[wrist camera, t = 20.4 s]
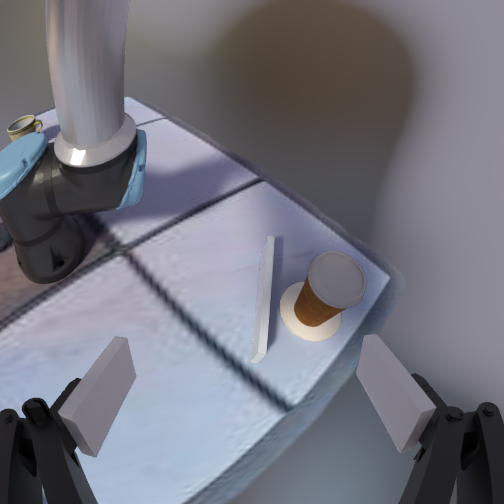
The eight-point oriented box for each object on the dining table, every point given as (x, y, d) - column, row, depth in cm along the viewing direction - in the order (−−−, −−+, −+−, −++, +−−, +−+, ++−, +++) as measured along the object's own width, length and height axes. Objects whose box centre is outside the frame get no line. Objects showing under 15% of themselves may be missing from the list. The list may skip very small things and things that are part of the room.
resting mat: (273, 283, 51) (274, 281, 50) (330, 281, 54) (331, 280, 53) (286, 345, 44) (287, 344, 43) (347, 337, 47) (348, 336, 46)
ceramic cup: (9, 160, 55) (1, 133, 47) (21, 143, 61) (16, 117, 53) (40, 155, 59) (34, 126, 51) (52, 138, 64) (47, 111, 57)
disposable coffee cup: (307, 279, 52) (334, 239, 43) (343, 314, 49) (378, 279, 40) (273, 307, 47) (298, 267, 38) (312, 346, 44) (348, 316, 35)
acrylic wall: (257, 363, 41) (266, 353, 37) (250, 361, 41) (257, 352, 37) (267, 253, 55) (274, 236, 51) (261, 251, 54) (268, 235, 51)
